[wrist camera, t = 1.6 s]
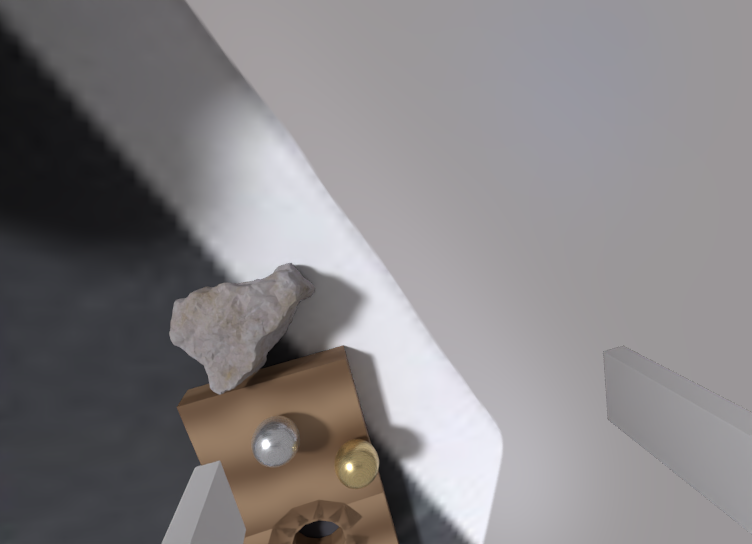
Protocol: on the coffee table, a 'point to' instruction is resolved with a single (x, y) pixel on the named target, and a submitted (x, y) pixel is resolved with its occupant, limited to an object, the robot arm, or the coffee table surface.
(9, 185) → the coffee table surface
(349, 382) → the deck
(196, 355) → the stone
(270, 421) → the ball
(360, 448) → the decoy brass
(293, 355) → the coffee table surface
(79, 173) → the coffee table surface
